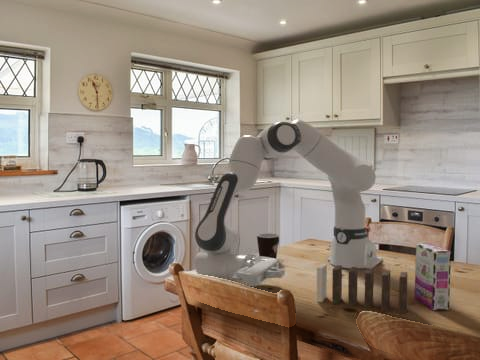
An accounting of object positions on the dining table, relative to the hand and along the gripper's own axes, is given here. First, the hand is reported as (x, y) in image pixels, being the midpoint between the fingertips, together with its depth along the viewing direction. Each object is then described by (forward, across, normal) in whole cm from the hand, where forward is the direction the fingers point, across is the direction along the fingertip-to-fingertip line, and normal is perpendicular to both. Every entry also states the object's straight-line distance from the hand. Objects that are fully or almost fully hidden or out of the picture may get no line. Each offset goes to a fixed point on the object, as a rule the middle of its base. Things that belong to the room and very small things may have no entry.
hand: (283, 274), depth 138 cm
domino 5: (+34, 0, +6) cm, 35 cm away
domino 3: (+26, 0, +6) cm, 26 cm away
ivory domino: (+12, 0, +6) cm, 13 cm away
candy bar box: (+41, +8, +6) cm, 43 cm away
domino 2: (+21, 0, +6) cm, 22 cm away
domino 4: (+30, 0, +6) cm, 31 cm away
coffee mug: (-18, +37, +6) cm, 41 cm away
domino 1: (+16, 0, +6) cm, 18 cm away
